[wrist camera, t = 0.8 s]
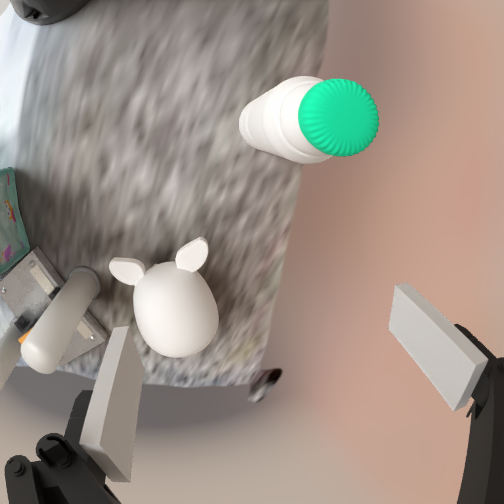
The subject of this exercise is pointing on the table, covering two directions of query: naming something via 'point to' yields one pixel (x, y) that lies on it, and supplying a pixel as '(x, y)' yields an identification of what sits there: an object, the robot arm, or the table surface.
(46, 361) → the off-white domed rod
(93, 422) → the robot arm
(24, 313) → the plate
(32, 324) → the orange-faced thin slab
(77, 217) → the table surface
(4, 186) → the lunch bag
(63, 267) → the table surface
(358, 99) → the water bottle
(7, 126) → the table surface
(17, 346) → the white tapered rounded cylinder
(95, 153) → the table surface
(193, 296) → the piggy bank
